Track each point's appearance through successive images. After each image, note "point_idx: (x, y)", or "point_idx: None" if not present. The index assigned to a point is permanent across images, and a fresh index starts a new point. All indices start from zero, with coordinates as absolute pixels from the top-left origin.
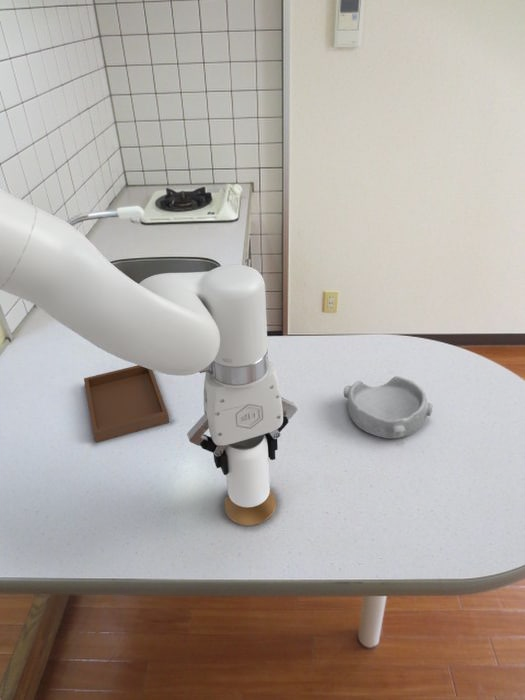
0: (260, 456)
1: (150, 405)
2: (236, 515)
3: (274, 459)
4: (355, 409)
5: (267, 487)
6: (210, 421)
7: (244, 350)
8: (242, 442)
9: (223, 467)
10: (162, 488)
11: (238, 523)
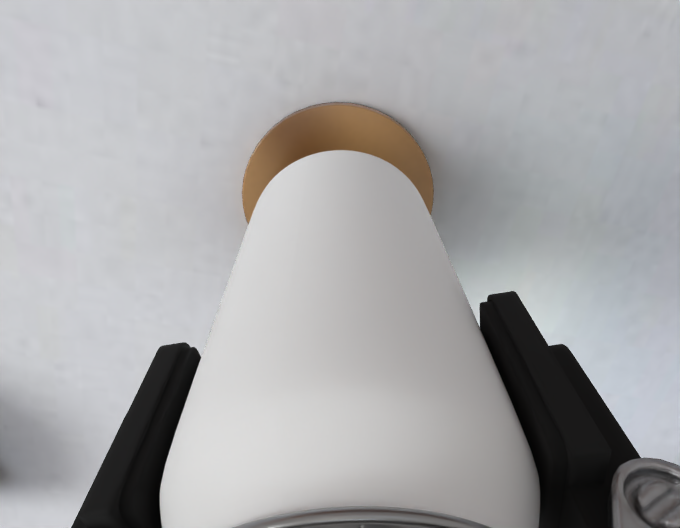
0: (233, 389)
1: None
2: (399, 157)
3: (167, 345)
4: None
5: (254, 215)
6: None
7: None
8: None
9: (545, 342)
10: (603, 311)
11: (398, 123)
